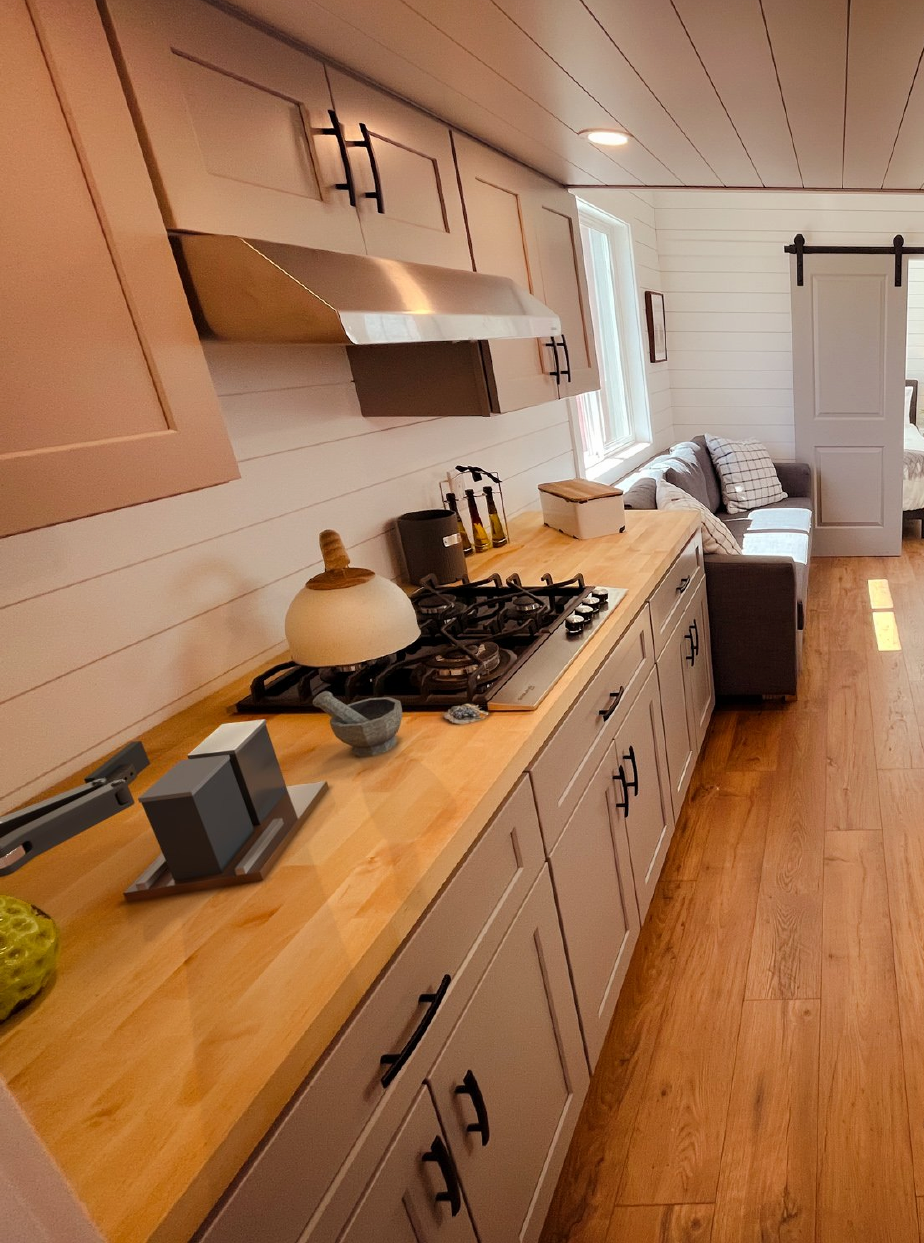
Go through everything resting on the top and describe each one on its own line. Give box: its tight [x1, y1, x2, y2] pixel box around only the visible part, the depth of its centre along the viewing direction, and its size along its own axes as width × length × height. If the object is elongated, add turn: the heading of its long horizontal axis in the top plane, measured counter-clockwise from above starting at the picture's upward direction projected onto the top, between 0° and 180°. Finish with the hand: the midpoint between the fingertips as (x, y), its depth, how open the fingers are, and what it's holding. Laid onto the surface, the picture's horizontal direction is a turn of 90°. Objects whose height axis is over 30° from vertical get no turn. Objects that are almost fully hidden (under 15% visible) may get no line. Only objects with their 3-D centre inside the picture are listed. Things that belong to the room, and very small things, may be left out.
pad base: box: [122, 719, 330, 903], centre depth 92 cm, size 14×20×14 cm
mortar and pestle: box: [312, 690, 403, 758], centre depth 113 cm, size 11×9×12 cm
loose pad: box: [137, 755, 255, 880], centre depth 87 cm, size 5×8×12 cm, turn 16°
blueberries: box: [441, 703, 489, 725], centre depth 126 cm, size 7×8×2 cm
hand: (56, 762), depth 68 cm, fingers open, 13 cm apart
